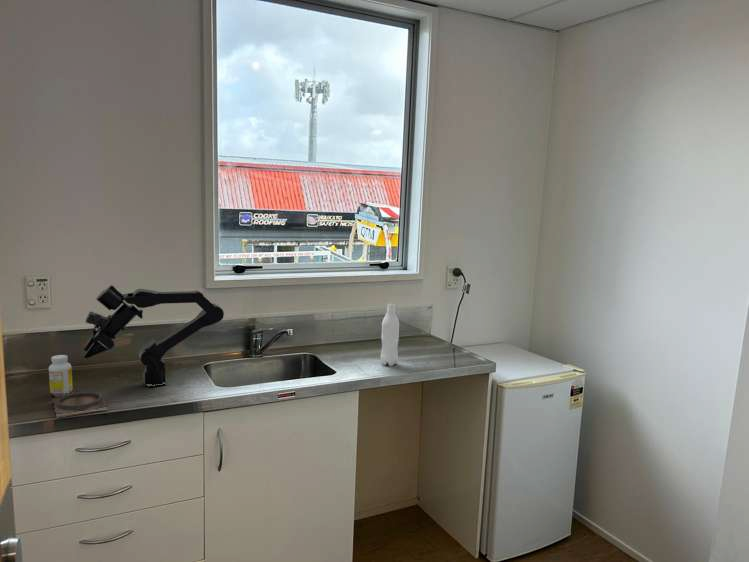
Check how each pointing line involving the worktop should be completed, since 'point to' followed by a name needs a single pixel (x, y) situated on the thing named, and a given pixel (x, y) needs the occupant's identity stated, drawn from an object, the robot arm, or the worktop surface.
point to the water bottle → (390, 336)
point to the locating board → (79, 402)
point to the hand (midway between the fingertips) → (85, 353)
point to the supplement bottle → (60, 375)
